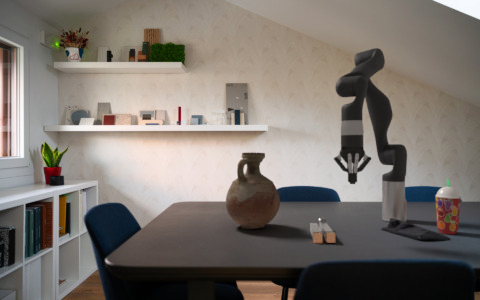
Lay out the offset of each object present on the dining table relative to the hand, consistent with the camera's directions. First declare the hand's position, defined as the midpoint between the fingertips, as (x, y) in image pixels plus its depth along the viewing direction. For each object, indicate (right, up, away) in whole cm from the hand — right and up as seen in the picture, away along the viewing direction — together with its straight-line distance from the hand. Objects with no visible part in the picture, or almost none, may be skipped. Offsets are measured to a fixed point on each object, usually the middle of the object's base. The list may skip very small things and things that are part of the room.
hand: (352, 183), depth 131 cm
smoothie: (+38, -19, +9) cm, 44 cm away
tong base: (-10, -19, +5) cm, 22 cm away
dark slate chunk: (+25, -20, +8) cm, 33 cm away
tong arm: (-8, -19, +3) cm, 21 cm away
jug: (-34, -19, +20) cm, 44 cm away
